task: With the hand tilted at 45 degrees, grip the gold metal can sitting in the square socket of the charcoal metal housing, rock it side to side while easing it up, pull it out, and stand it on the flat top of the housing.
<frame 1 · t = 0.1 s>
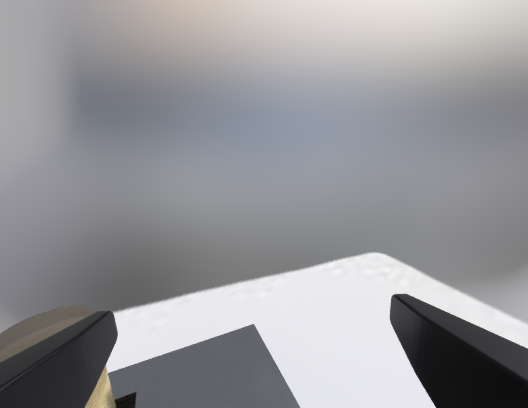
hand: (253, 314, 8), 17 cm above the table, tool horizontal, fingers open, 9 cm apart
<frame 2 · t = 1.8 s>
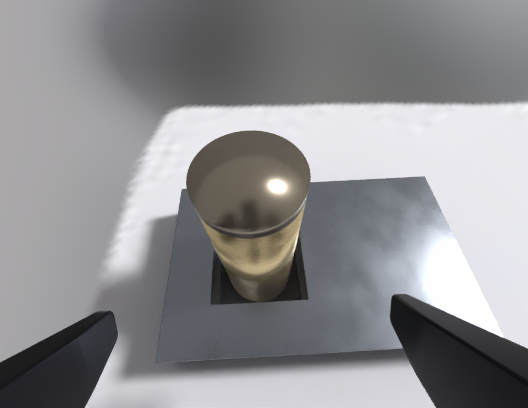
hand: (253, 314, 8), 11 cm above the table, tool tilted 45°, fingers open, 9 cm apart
housing: (259, 270, 20), on the table
gold metal can: (255, 239, 15), in the housing
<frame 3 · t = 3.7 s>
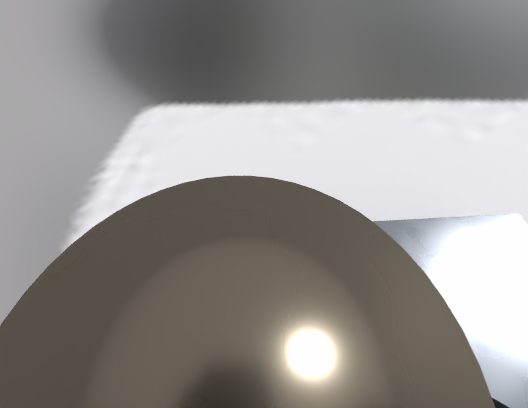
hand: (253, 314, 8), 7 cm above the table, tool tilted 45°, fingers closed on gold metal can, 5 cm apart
housing: (261, 362, 13), on the table
gold metal can: (255, 365, 8), in the housing, touching gripper
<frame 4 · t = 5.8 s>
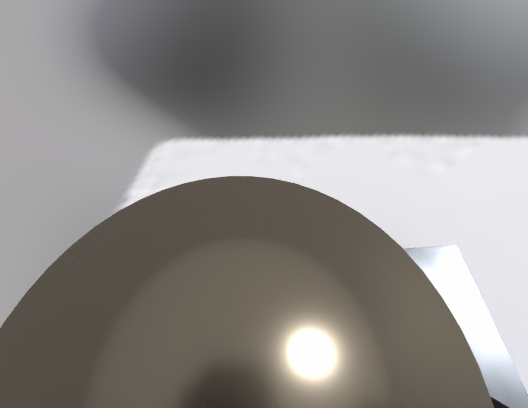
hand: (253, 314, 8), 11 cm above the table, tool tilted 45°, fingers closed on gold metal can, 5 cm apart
housing: (257, 360, 17), on the table
gold metal can: (255, 365, 8), point 11 cm above the table, touching gripper
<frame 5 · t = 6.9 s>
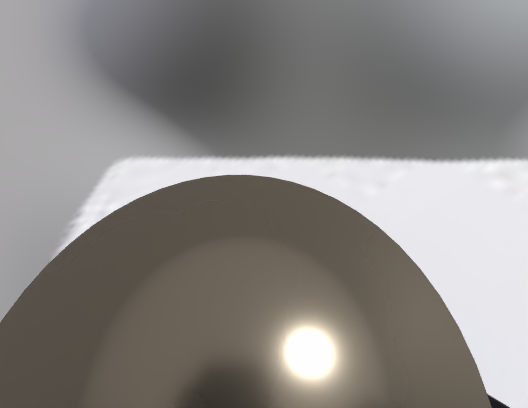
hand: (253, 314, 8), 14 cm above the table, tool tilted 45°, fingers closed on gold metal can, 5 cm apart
gold metal can: (254, 364, 8), point 13 cm above the table, touching gripper
when the fingers open (11 cm above the table, at t = 7.9 s): gold metal can drops 1 cm, resting on housing.
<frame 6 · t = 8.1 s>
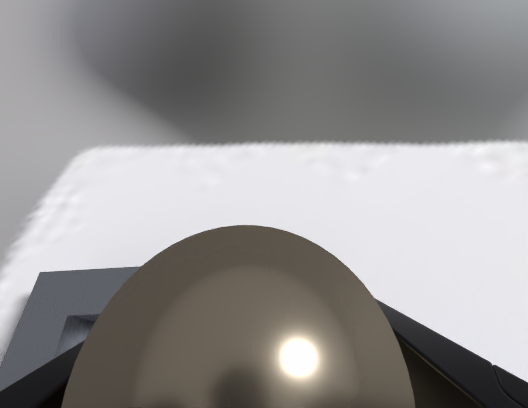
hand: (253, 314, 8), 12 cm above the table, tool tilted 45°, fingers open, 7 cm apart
housing: (132, 369, 17), on the table
gold metal can: (256, 366, 9), on the housing, point 10 cm above the table
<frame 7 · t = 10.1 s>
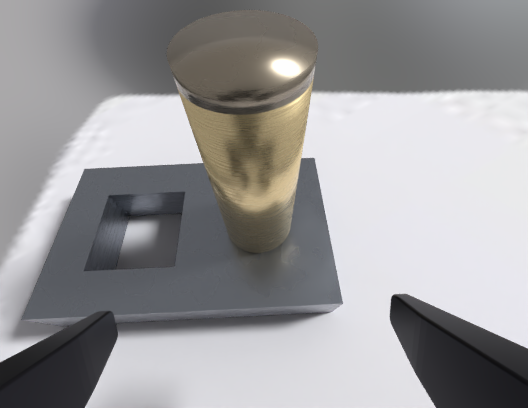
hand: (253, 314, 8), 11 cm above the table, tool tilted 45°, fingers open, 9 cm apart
housing: (157, 245, 22), on the table
gold metal can: (253, 168, 13), on the housing, point 10 cm above the table
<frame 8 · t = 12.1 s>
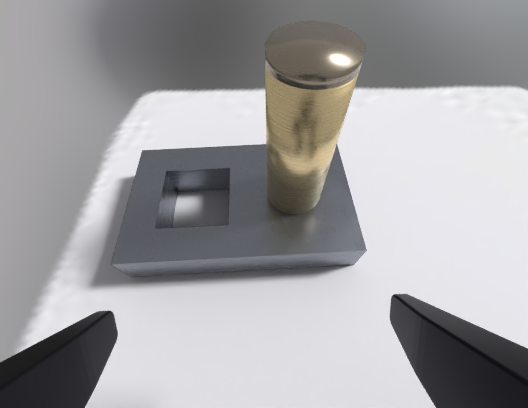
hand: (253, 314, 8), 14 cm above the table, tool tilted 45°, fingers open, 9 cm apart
housing: (203, 214, 26), on the table
gold metal can: (300, 140, 17), on the housing, point 10 cm above the table
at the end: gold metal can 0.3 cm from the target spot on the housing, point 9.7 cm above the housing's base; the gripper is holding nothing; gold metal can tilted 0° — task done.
